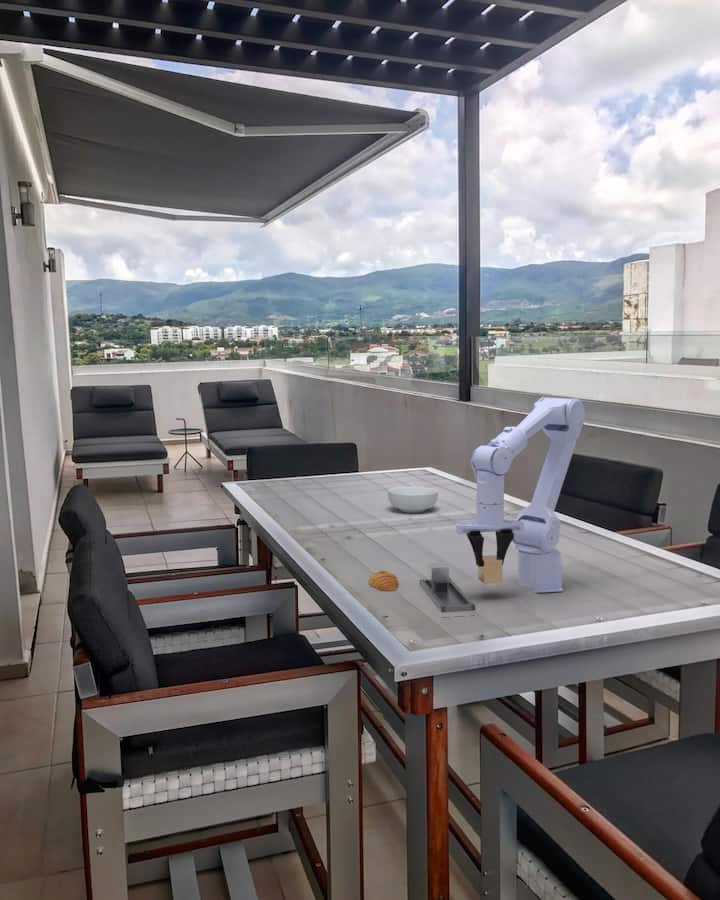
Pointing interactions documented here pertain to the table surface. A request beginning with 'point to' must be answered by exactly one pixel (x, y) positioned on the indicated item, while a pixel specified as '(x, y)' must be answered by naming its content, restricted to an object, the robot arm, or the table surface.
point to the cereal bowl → (412, 498)
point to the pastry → (384, 581)
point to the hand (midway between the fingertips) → (489, 564)
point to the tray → (449, 598)
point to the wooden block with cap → (490, 570)
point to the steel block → (438, 576)
